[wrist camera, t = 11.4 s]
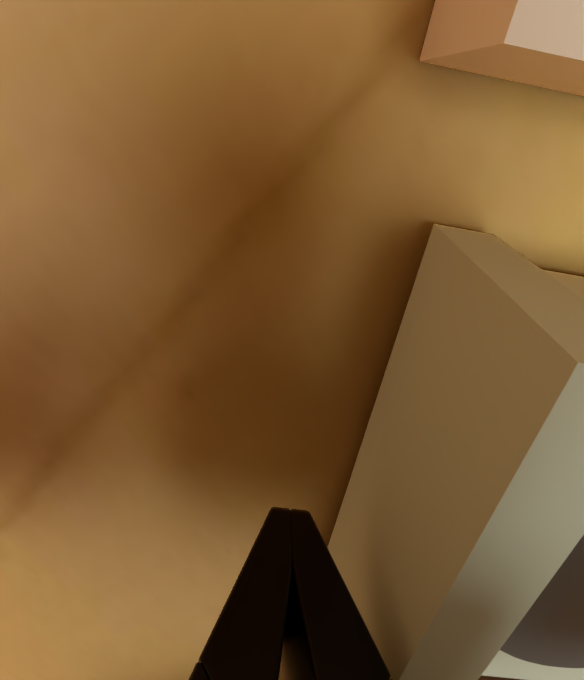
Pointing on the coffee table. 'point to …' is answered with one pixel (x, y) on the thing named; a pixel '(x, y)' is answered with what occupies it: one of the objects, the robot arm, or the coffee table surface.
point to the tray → (469, 463)
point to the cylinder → (554, 619)
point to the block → (510, 40)
